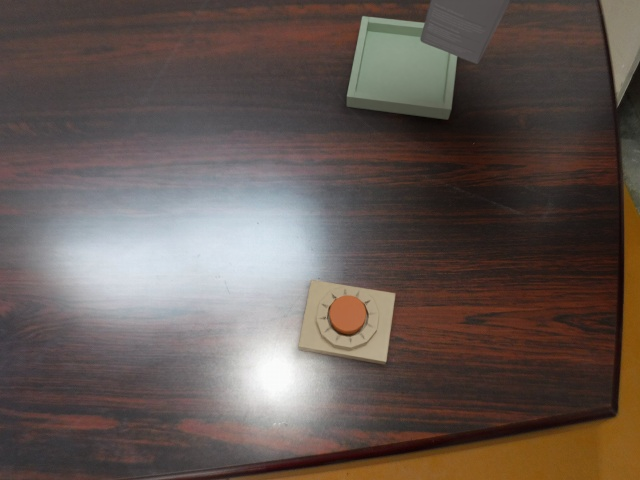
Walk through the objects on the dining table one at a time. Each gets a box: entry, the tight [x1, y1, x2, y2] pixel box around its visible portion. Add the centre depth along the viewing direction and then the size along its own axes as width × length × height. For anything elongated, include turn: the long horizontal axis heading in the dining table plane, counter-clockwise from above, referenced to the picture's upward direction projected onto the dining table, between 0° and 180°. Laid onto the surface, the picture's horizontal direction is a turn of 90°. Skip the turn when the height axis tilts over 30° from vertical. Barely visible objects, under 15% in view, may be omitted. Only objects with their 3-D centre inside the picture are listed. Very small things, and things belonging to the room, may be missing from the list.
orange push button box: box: [297, 279, 396, 366], centre depth 61 cm, size 10×8×4 cm
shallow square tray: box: [346, 15, 458, 120], centre depth 75 cm, size 14×14×2 cm
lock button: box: [330, 295, 366, 334], centre depth 59 cm, size 4×4×2 cm
